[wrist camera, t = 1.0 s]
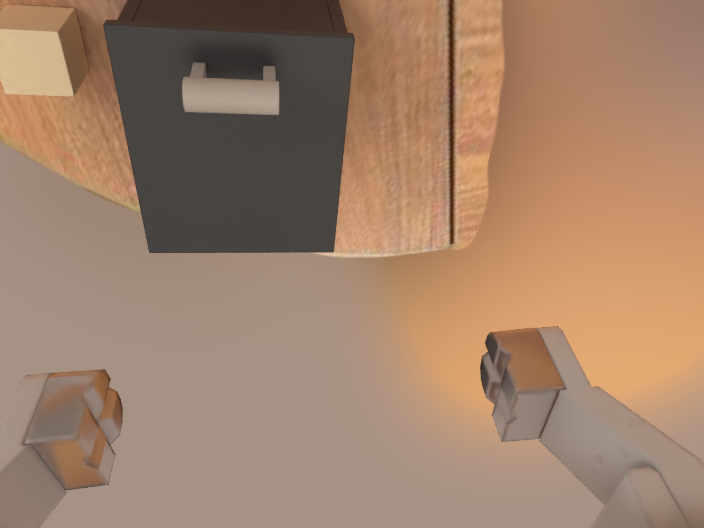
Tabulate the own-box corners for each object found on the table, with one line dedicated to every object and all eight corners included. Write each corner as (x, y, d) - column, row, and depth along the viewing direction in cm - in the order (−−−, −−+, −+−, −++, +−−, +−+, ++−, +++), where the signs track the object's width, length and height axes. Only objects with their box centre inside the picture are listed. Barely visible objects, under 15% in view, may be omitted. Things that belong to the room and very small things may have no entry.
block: (6, 3, 38) (-18, 28, 35) (75, 7, 39) (57, 31, 36) (25, 67, 41) (5, 94, 38) (89, 69, 42) (74, 96, 39)
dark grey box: (138, -21, 38) (109, 33, 31) (336, -8, 40) (352, 46, 33) (167, 172, 49) (150, 245, 42) (323, 174, 51) (332, 245, 44)
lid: (106, 19, 31) (84, 57, 27) (353, 32, 33) (364, 69, 29) (150, 246, 42) (139, 295, 38) (332, 246, 44) (339, 292, 40)
